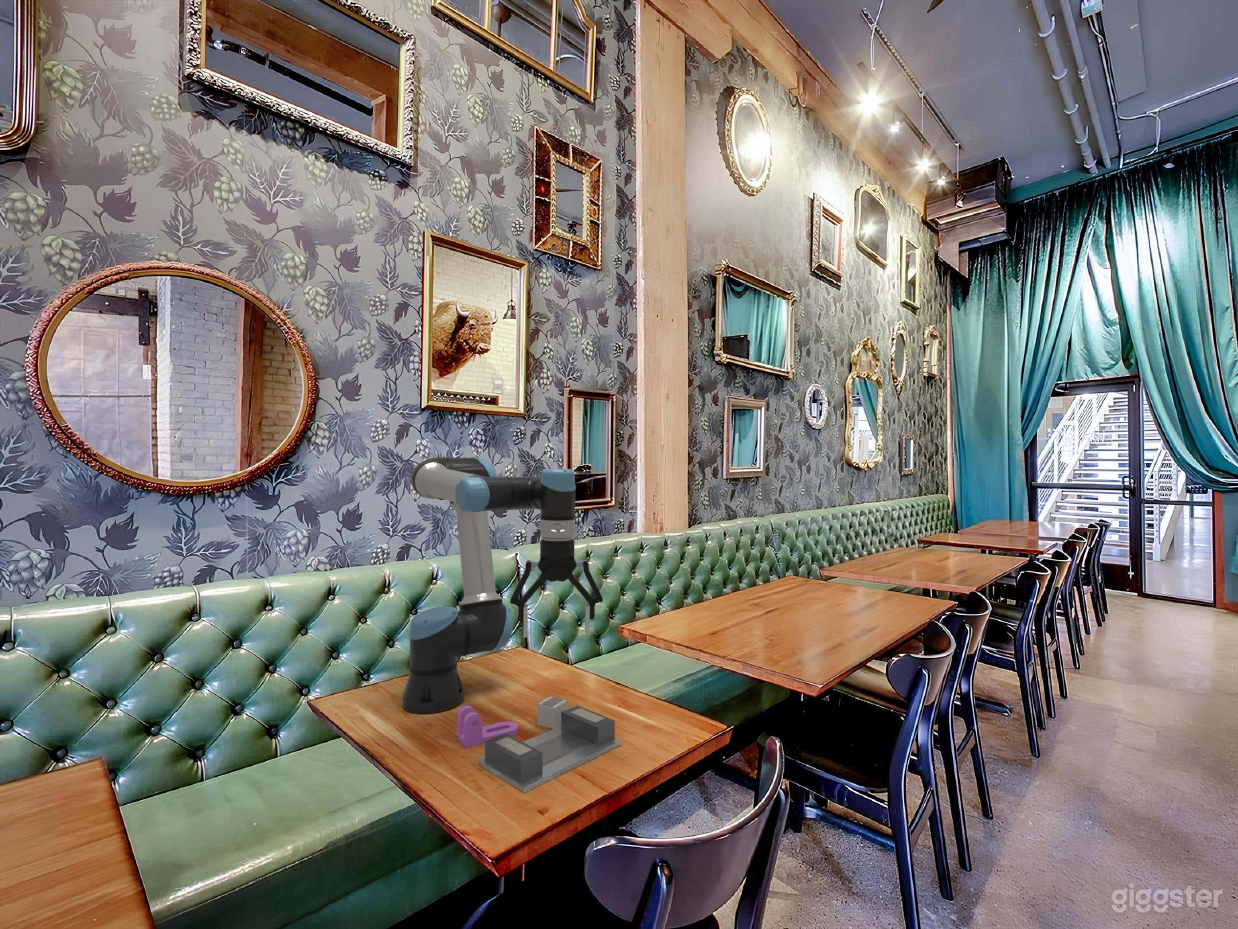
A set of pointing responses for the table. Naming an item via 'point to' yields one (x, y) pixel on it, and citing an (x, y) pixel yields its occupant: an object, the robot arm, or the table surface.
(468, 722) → the bracket
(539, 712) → the block
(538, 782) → the rail board
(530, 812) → the table surface
